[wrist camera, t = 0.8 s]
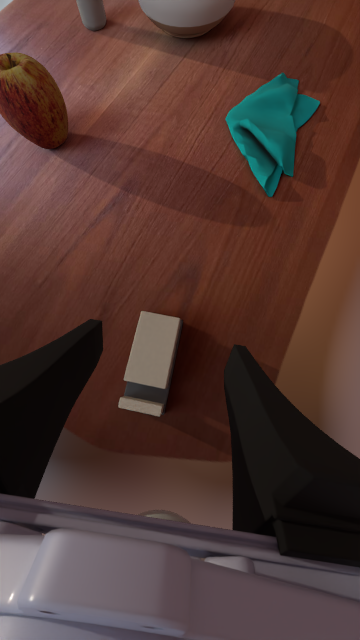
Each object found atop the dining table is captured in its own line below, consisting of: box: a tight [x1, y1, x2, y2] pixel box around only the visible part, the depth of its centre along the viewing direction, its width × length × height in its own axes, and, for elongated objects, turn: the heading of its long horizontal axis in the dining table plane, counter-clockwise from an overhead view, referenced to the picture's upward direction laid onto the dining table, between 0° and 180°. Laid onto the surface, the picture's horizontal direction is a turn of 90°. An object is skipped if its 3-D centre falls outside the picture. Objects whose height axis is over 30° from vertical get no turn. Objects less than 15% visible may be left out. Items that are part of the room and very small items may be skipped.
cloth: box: [226, 73, 320, 197], centre depth 36 cm, size 26×14×2 cm, turn 155°
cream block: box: [118, 311, 183, 416], centre depth 25 cm, size 11×5×4 cm, turn 169°
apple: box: [0, 53, 68, 149], centre depth 32 cm, size 9×9×10 cm
